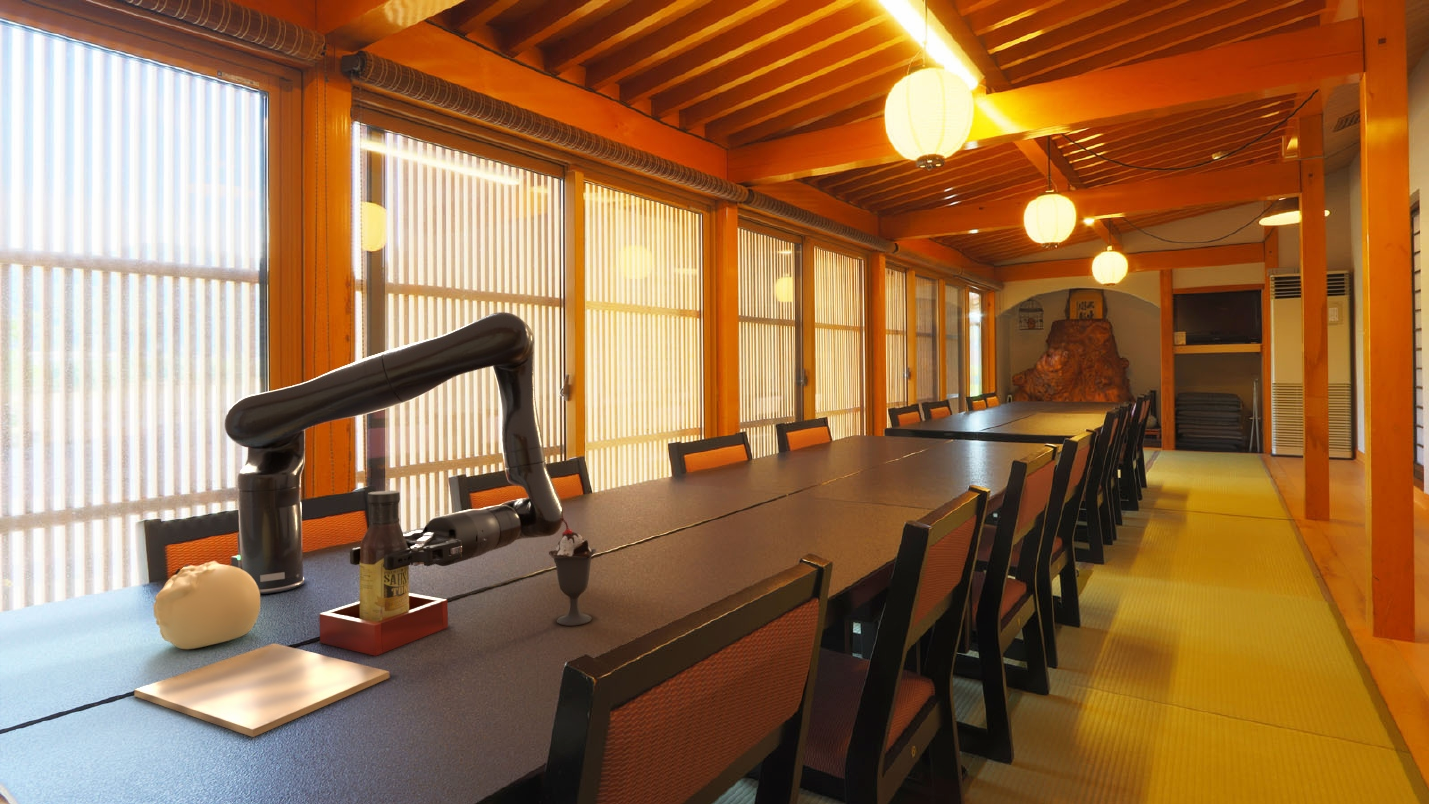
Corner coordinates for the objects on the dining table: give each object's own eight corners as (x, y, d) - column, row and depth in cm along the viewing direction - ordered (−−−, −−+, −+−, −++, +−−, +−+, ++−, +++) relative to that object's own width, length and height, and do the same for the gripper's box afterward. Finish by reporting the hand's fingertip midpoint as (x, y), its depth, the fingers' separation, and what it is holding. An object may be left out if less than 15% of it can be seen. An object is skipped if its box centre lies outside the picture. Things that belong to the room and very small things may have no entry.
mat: (134, 696, 83) (133, 689, 83) (274, 649, 97) (274, 643, 97) (253, 737, 73) (252, 729, 73) (389, 678, 87) (389, 671, 87)
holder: (319, 643, 99) (318, 613, 99) (394, 616, 110) (393, 590, 109) (375, 656, 94) (374, 625, 94) (448, 627, 105) (447, 599, 105)
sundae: (553, 614, 110) (551, 514, 109) (598, 612, 111) (597, 513, 110) (547, 629, 103) (545, 523, 103) (595, 627, 104) (593, 521, 103)
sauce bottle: (391, 644, 98) (387, 496, 97) (349, 642, 99) (345, 495, 99) (420, 628, 104) (416, 489, 104) (380, 625, 106) (377, 488, 105)
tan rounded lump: (168, 634, 103) (165, 558, 103) (267, 622, 108) (265, 549, 107) (142, 663, 92) (139, 578, 92) (253, 648, 97) (250, 567, 97)
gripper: (428, 508, 117) (332, 528, 102) (496, 515, 111) (405, 537, 96) (429, 555, 118) (334, 581, 103) (497, 564, 111) (406, 594, 96)
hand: (368, 560), depth 99 cm, fingers closed on sauce bottle, 6 cm apart
